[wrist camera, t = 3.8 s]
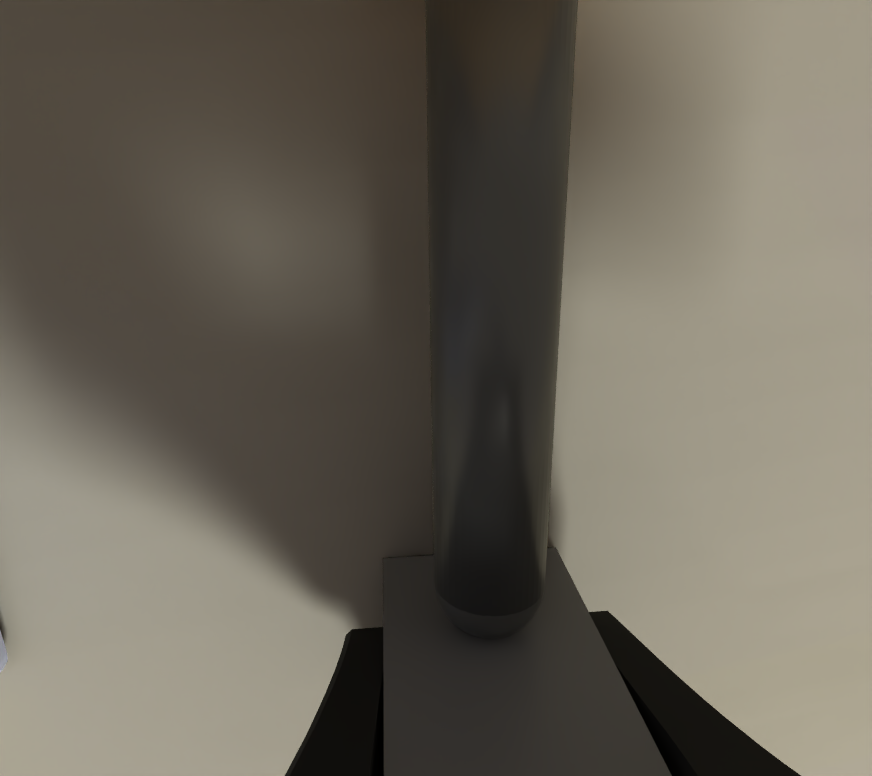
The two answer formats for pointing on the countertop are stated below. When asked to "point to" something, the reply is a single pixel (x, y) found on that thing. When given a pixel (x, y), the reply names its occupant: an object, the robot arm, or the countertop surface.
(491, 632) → the bar with block ends
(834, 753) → the countertop surface
